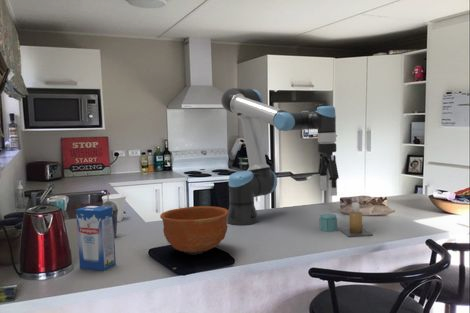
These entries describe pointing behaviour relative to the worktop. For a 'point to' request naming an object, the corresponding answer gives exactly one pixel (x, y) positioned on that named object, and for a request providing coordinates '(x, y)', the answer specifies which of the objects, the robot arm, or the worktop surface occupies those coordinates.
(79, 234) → the milk carton
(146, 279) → the worktop surface
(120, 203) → the cup
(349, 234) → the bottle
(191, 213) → the bowl
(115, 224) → the grey bottle
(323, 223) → the cap
